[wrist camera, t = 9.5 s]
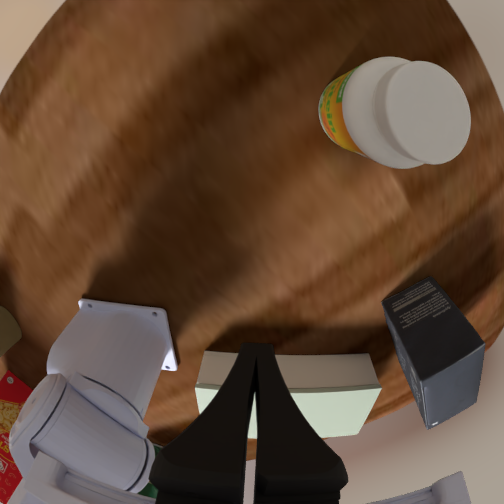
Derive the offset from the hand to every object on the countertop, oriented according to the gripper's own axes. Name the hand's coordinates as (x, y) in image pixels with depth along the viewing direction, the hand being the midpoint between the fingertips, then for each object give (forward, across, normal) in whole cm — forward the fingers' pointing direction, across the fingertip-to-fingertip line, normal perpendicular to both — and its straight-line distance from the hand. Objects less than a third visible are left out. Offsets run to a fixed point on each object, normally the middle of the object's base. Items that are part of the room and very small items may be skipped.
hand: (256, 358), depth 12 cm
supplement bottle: (+10, -6, -11) cm, 16 cm away
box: (+10, -15, +6) cm, 19 cm away
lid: (+5, -3, +14) cm, 15 cm away
